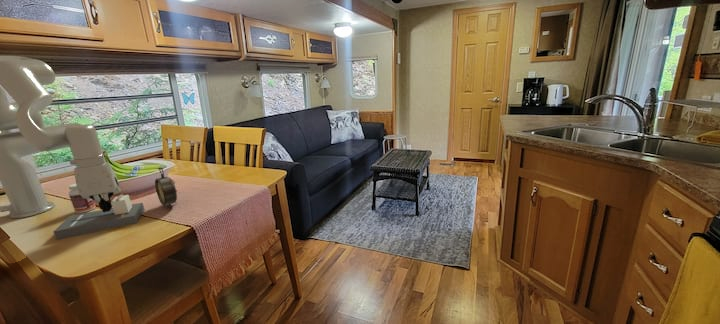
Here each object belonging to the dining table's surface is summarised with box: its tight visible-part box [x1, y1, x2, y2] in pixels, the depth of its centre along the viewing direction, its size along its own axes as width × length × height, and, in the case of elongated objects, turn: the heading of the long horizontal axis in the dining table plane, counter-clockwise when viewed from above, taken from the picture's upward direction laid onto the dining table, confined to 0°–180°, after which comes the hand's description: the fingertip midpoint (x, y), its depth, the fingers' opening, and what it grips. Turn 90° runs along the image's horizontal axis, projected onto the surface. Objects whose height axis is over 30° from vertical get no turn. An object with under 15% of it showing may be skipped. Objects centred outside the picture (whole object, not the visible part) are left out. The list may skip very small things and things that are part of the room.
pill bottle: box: [68, 182, 97, 214], centre depth 116 cm, size 6×6×11 cm
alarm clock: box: [154, 166, 178, 210], centre depth 115 cm, size 11×5×16 cm, turn 47°
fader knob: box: [111, 193, 133, 215], centre depth 107 cm, size 4×5×6 cm
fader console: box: [52, 202, 145, 240], centre depth 105 cm, size 22×12×3 cm, turn 114°
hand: (107, 210), depth 105 cm, fingers closed
